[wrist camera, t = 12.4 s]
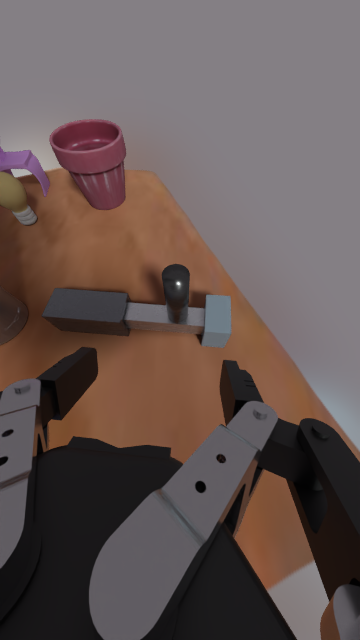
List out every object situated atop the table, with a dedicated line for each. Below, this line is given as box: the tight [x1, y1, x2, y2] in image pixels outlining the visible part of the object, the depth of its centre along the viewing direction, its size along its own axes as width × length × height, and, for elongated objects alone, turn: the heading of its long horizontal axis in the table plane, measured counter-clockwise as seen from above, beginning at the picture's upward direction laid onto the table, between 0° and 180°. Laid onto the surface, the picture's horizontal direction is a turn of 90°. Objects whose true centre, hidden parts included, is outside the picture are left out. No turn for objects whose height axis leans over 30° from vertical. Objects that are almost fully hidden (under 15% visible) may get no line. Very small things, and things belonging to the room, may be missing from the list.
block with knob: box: [122, 264, 205, 335], centre depth 26 cm, size 18×3×12 cm, turn 84°
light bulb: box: [0, 172, 37, 225], centre depth 41 cm, size 6×6×10 cm
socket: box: [201, 295, 231, 348], centre depth 30 cm, size 4×6×6 cm, turn 174°
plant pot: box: [50, 119, 126, 210], centre depth 44 cm, size 14×14×13 cm
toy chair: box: [0, 147, 50, 197], centre depth 45 cm, size 8×9×15 cm
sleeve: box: [42, 288, 132, 336], centre depth 31 cm, size 12×5×5 cm, turn 84°
